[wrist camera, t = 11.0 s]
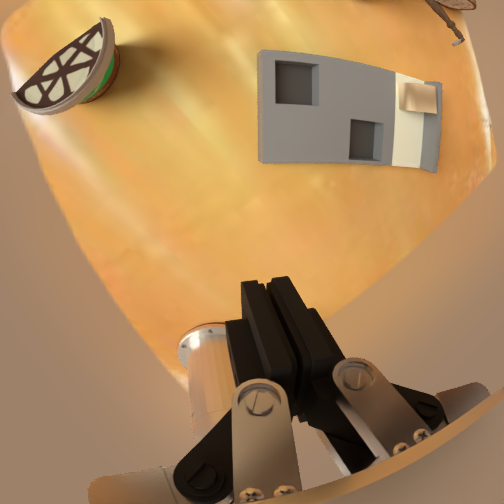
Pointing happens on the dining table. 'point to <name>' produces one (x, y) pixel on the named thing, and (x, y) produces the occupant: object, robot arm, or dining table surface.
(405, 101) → the block
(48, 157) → the dining table surface
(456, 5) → the tin
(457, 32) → the coffee pot
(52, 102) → the food container
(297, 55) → the board
